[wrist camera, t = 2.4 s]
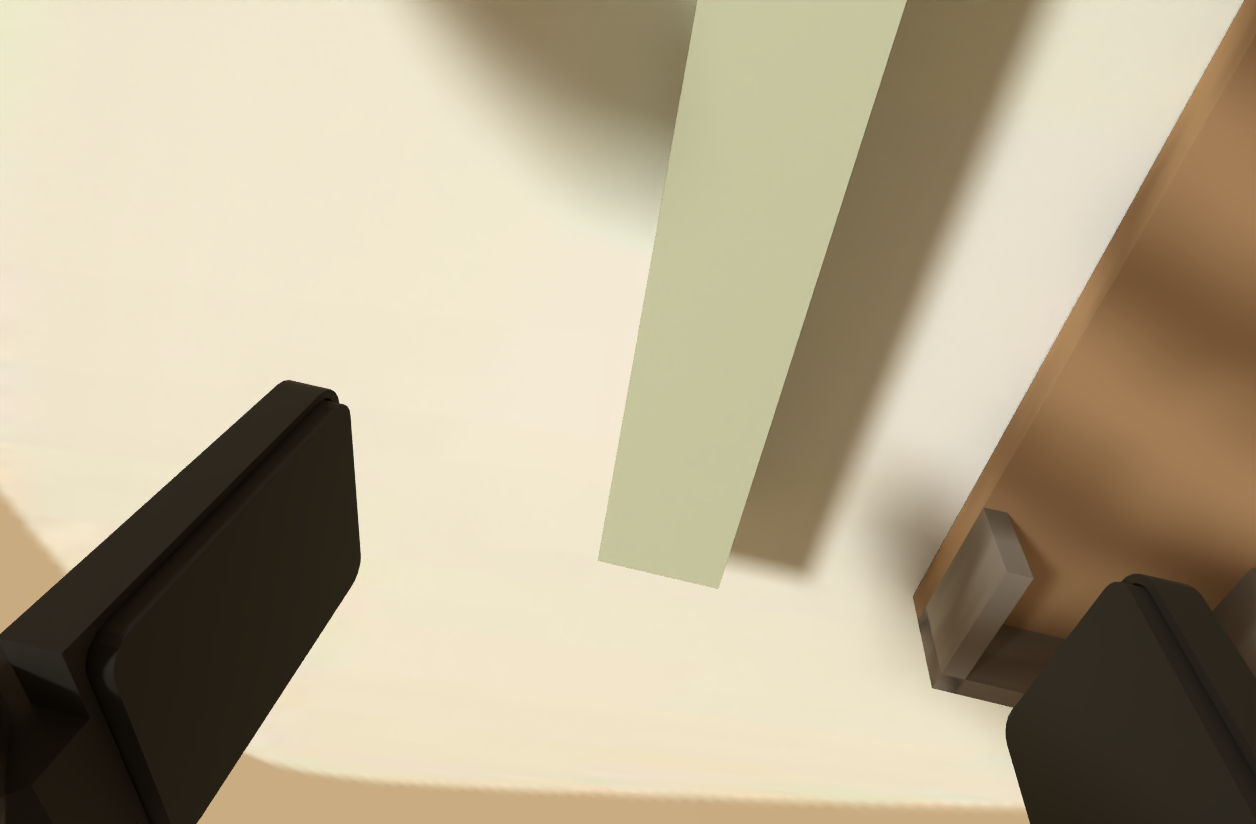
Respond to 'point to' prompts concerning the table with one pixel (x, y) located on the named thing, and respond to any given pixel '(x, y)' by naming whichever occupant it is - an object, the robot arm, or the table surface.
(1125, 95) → the table surface
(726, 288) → the slat
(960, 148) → the table surface
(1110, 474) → the cradle
